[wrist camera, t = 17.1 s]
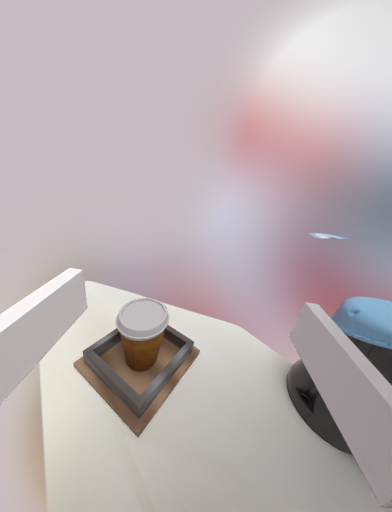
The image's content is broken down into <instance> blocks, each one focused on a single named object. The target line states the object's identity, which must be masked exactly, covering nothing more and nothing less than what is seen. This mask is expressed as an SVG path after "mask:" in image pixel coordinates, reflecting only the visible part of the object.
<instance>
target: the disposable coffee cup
mask: <svg viewBox="0 0 392 512" xmlns="http://www.w3.org/2000/svg"><path fill="white" fill-rule="evenodd" d="M168 322H169V314H168V312H167V309H166V307H165V306H164V305H163V304H162V303H161V302H159V301H158V300H155V299H151V298H139V299H135V300H132V301H130V302H128V303H127V304H125V305H124V306H123V307H122V308H121V310H120V312H119V314H118V315H117V318H116V327H117V329H118V330H119V332H120V335H121V339H122V344H123V348H124V353H125V358H126V363H127V365H128V367H129V368H130V369H132V370H134V371H138V372H140V371H145V370H148V369H149V368H151V367H152V366H153V365H154V364H155V362H156V360H157V356H158V353H159V349H160V345H161V341H162V338H163V334H164V330H165V328H166V327H167V325H168Z"/></svg>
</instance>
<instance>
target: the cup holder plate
mask: <svg viewBox="0 0 392 512" xmlns="http://www.w3.org/2000/svg"><path fill="white" fill-rule="evenodd" d="M193 344H194V341H192V340H190V339H189V338H187V337H186V336H184V335H183V334H181V333H180V332H178V331H176V330H175V329H173V328H172V327H170V326H169V325H167V327H166V328H165V330H164V334H163V338H162V341H161V345H160V349H159V353H158V356H157V360H156V362H155V364H154V365H153V366H152V367H151V368H149V369H148V370H145V371H140V372H138V371H134V370H132V369H130V368H129V367H128V365H127V363H126V358H125V353H124V348H123V344H122V339H121V335H120V332H119V330H118V329H115V330H114V331H112V332H111V333H109V334H108V335H106V336H105V337H103V338H102V339H100V340H99V341H97V342H96V343H94V344H93V345H91V346H90V347H88V348H87V349H85V350H84V351H83V357H82V358H80V359H79V360H77V361H76V362H74V367H75V368H76V369H77V370H78V371H79V372H80V373H81V374H82V376H83V377H84V378H85V379H86V380H87V381H88V382H89V383H90V384H91V385H92V387H93V388H94V389H95V390H96V391H97V392H98V393H99V394H100V395H101V397H102V398H103V399H104V400H105V401H106V402H107V403H108V404H109V405H110V406H111V408H112V409H113V410H114V411H115V412H116V413H117V414H118V415H119V416H120V417H121V419H122V420H123V421H124V422H125V423H126V424H127V425H128V426H129V427H130V429H131V430H132V431H133V432H134V433H135V434H136V435H137V436H138V437H139V436H140V434H141V433H142V431H143V430H144V429H145V427H146V426H147V425H148V423H149V422H150V420H151V419H152V418H153V416H154V415H155V414H156V412H157V411H158V409H159V408H160V407H161V405H162V404H163V403H164V401H165V400H166V398H167V397H168V396H169V394H170V393H171V392H172V390H173V389H174V387H175V386H176V385H177V383H178V382H179V381H180V379H181V378H182V376H183V375H184V374H185V372H186V371H187V370H188V368H189V367H190V365H191V364H192V363H193V361H194V360H195V359H196V357H197V356H198V354H199V352H200V350H198V349H197V348H195V347H194V346H193Z"/></svg>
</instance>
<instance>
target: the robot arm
mask: <svg viewBox="0 0 392 512" xmlns="http://www.w3.org/2000/svg"><path fill="white" fill-rule="evenodd" d="M86 309H87V300H86V292H85V283H84V275H83V270H80V269H73V268H69V269H67V270H66V271H64V272H63V273H61V274H60V275H58V276H57V277H55V278H54V279H52V280H51V281H49V282H48V283H46V284H45V285H43V286H42V287H41V288H39V289H37V290H36V291H34V292H33V293H32V294H30V295H28V296H27V297H25V298H24V299H22V300H21V301H19V302H18V303H16V304H15V305H13V306H12V307H10V308H9V309H7V310H6V311H5V312H3V313H2V314H0V405H1V404H2V402H3V401H4V400H5V399H6V398H7V397H8V396H9V395H10V393H11V392H12V391H13V390H14V389H15V388H16V387H17V386H18V385H19V384H20V382H21V381H22V380H23V379H24V378H25V377H26V376H27V375H28V374H29V372H30V371H31V370H32V369H33V368H34V367H35V366H36V365H37V364H38V362H39V361H40V360H41V359H42V358H43V357H44V356H45V355H46V353H47V352H48V351H49V350H50V349H51V348H52V347H53V346H54V345H55V343H56V342H57V341H58V340H59V339H60V338H61V337H62V336H63V335H64V333H65V332H66V331H67V330H68V329H69V328H70V327H71V326H72V324H73V323H74V322H75V321H76V320H77V319H78V318H79V317H80V316H81V314H82V313H83V312H84V311H85V310H86ZM289 337H290V339H291V341H292V343H293V345H294V347H295V348H296V350H297V352H298V354H299V356H300V358H301V359H300V360H299V361H297V362H296V363H295V364H294V365H293V366H292V368H291V370H290V371H289V373H288V377H287V387H288V391H289V394H290V397H291V399H292V401H293V403H294V405H295V407H296V409H297V410H298V412H299V413H300V415H301V416H302V417H303V419H304V420H305V421H306V422H307V423H308V424H309V426H310V427H311V428H312V429H313V430H314V431H315V432H316V433H318V434H319V435H320V436H321V437H322V438H323V439H325V440H326V441H327V442H329V443H330V444H332V445H333V446H335V447H337V448H339V449H341V450H343V451H345V452H348V453H351V454H353V456H354V458H355V459H356V461H357V463H358V465H359V467H360V469H361V471H362V472H363V474H364V476H365V478H366V480H367V482H368V483H369V485H370V487H371V489H372V491H373V493H374V495H375V496H376V498H377V500H378V502H379V504H380V506H381V507H389V508H392V302H390V301H387V300H382V299H377V298H371V297H353V298H349V299H347V300H345V301H344V302H343V303H342V304H341V305H340V307H339V308H338V310H337V311H336V312H335V313H334V314H333V315H332V316H331V318H330V317H329V316H328V315H327V314H326V313H325V312H324V311H323V309H322V308H321V307H320V306H319V305H318V304H313V303H305V304H304V306H303V308H302V310H301V312H300V314H299V316H298V319H297V321H296V323H295V325H294V327H293V329H292V331H291V333H290V335H289Z"/></svg>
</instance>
